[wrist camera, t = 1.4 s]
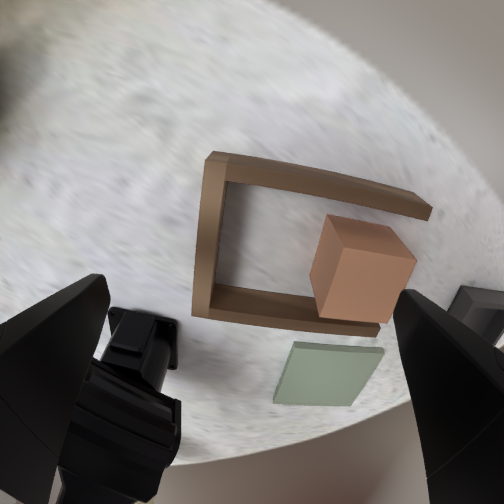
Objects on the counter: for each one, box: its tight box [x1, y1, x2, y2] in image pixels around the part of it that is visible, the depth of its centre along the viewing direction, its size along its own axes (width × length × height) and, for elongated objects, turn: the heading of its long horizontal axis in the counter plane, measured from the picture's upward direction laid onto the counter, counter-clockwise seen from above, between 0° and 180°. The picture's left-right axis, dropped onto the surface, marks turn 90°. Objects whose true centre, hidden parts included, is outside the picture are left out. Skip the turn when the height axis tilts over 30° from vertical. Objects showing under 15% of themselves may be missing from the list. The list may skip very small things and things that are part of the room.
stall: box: [191, 151, 433, 337], centre depth 21 cm, size 11×14×3 cm
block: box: [310, 214, 417, 323], centre depth 20 cm, size 5×5×5 cm
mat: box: [273, 342, 384, 406], centre depth 28 cm, size 9×9×1 cm
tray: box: [447, 285, 504, 346], centre depth 24 cm, size 8×8×2 cm
